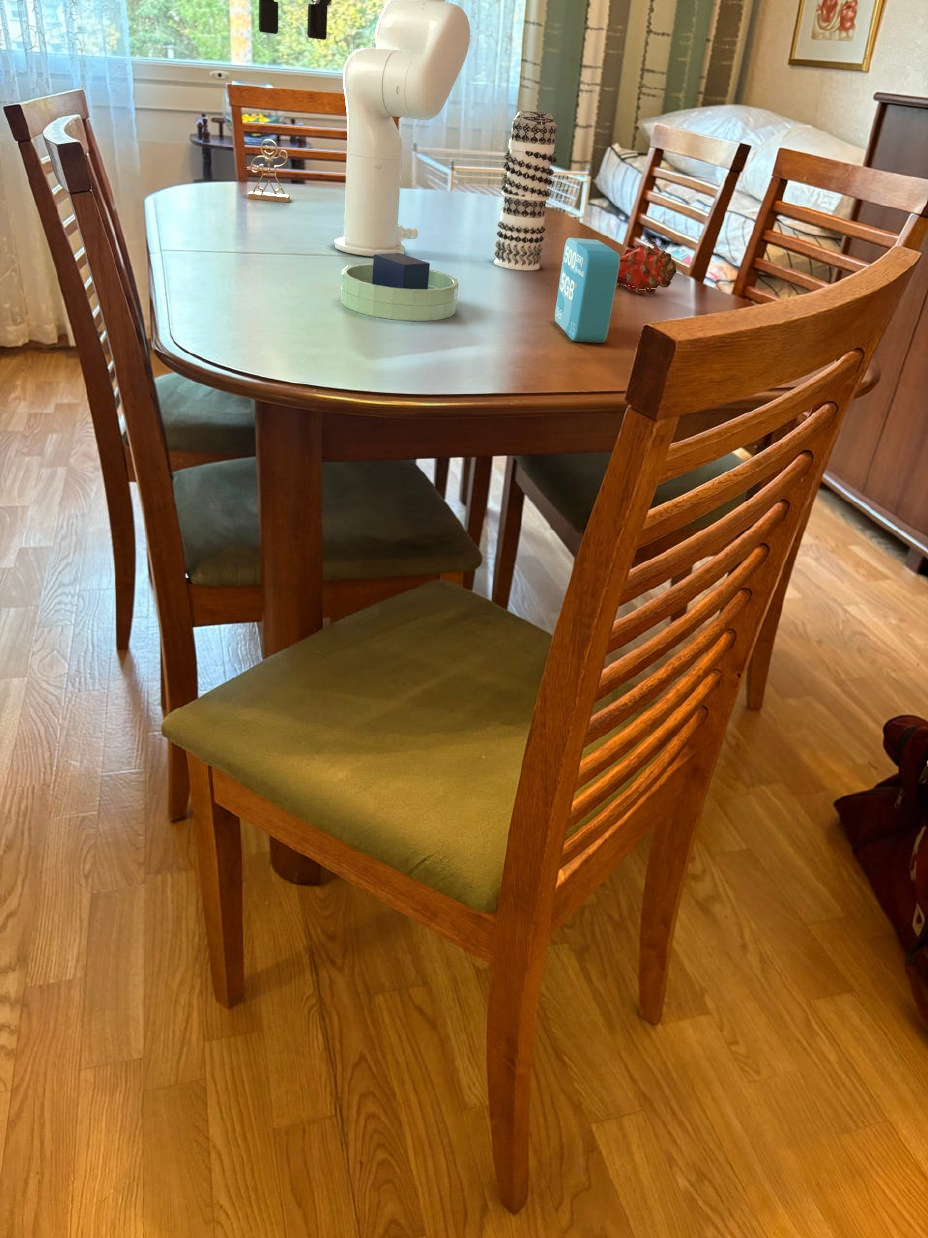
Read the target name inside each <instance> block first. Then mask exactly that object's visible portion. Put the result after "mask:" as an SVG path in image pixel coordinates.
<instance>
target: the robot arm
mask: <svg viewBox="0 0 928 1238" xmlns="http://www.w3.org/2000/svg"><path fill="white" fill-rule="evenodd" d="M310 1H311V2H312V3H308V4H307V5H308V6H307V30H306V33H307V34H306V35H307V37H308V39H314V40H322V41H326V40H327V37H328V35H327V33H328V8H329V7H331V6H332V3H333V2H332V0H310ZM258 31H259V32H260V33H265V34H272V35H277V34H278V33H279V1H275V0H258ZM374 39H375V45H376V47H364V48H360V49H357V50H355V51H354V52H352V53H351V54H350V55H349V57H348V58H347V60H346V61H345V64H344V68H343V78H342V79H343V81H342V82H343V89H344V98H345V107H346V118H347V119H346V120H347V125H346V126H347V135H346V137H347V138H346V139H347V140H346V141H347V142H346V147H347V148H346V163H345V164H346V167H345V195H344V220H343V222H344V223H343V237H339V238H337V239H335V240H334V247H335V249H336V250H338V251H341V252H344V253H346V254H351V255H357V256H364V257H373V258H374V254H388V253H401V254H404V255H405V250H406V247H405V245H403V244H402V242H404V241H405V240H416V239H417V238H418V236H419V232H418V229H417V228H415V227H406V228H404V226H403V225H401V224H399V213H400V212H399V211H400V196H401V180H402V165H403V141H402V137H401V134H400V131H399V129H398V127H397V125H396V122H395V120H394V118H393V117H396V118H397V117H398V118H404V119H410V120H419V121H430V120H432V119H434V118H435V117H437V116H438V115H439V114H440V113H441V111H442V110H443V108H444V107H445V105H446V102H447V100H448V99H449V96H450V95H451V94H450V93H451V92H452V90H453V87H454V85H455V83H456V81H457V79H458V76H459V74H460V72H461V71H462V68H463V66H464V64H465V61H466V58H467V56H468V51H469V48H470V40H471V26H470V21H469V18H468V16H467V14H466V12H465V11H464V10H463V8H462V7H461V6H459V5H457V4H455V3H453V2H447V1H446V0H387V2H386V4H385V6H384V8H383V10H382V12H381V15H380V16H379V19H378V21H377V24H376V27H375V35H374Z"/></svg>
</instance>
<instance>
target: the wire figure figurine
mask: <svg viewBox="0 0 928 1238" xmlns="http://www.w3.org/2000/svg"><path fill="white" fill-rule="evenodd" d="M268 141H269V142H272V143H273V144H274V146H273V145H270V146H269V145H267V144H265V145H264V143H265V142H268ZM263 148H264V149H265V150H263ZM259 149H260V152H261V154H262V155H257V156H255V157H254V158H253V159H252V160H251V162H250V166H249V169H250V171H251V172H252V173H254V174H256V173H259V171H260V168H261V176H260V177H259V179H258V182H257V183H256V185H255V187H254V189H253V191H252V190H251V191H249V192H248V193H247V199H249V200H260V201H271V202H280V203H289V202H290V201H291V196H290V195H289V194H285V191H284V189H283V187H282V185H281V183H280V182H279V179H278V177H277V168H280V167H283V166H284V165H285V164H286V162H287V161H288V157H289V154H288V152H287V151H286V150H285V149H281V150H280V151H279V152H278V145H277V143H276V142H275V141H274V140H273V139H270V138H267V139H264V140H263V141H262V142H261V143H260V148H259ZM267 149H270V150H271V151H272V152H267ZM274 150H275V151H274ZM282 152H283V153H285V155H286V156H285V155H283V154H281V153H282ZM277 154H278V155H277ZM276 155H277V156H276ZM259 158H264V161H265V163H266V162H267V166H268V169H267V172H268V173H267V172H264V164H263V163H261V164H259V165H256V164H254V161H255V160H257V159H259ZM279 158H281V159H283V160H284V162H283V163H282V164H279V165H274V173H271V171H272V170H271V164H272V163H273V162H274V159H275V160H276V159H279ZM253 168H255V169H257V170H254V169H253ZM264 176H266V177H274V179H275V180H276V182H277V184H278V186H279V187H278V188H277V189H275V188H274V186H273V184H272V182H271V180H270V179H268V181H267V182H266V184H265V186H264V187H262V186H260V185H259V184H260V182H261V180H262V179H263V177H264ZM268 185H269V186H270V187H271V190H272V191H273V192H272V193H271V192H265V190H266V189H267V187H268ZM256 189H259V190H260V191H256ZM280 191H281V192H282V194H281V193H278V192H280Z"/></svg>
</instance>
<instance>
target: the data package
mask: <svg viewBox="0 0 928 1238" xmlns="http://www.w3.org/2000/svg"><path fill="white" fill-rule="evenodd" d="M563 249H564V250H563V257H562V263H561V270H560V275H559V276H560V277H559V283H558V289H557V297H556V304H555V311H554V320H555V321H554V322H556V324H558V326H559V327H560V328H561V329H562V330H563V331H564V332H565V335H566V336H568V338H569V339H570V340H571V341H572V342H576V343H593V344H604V343H605V342H606V340H607V338H608V335H609V334H608V333H609V330H610V329H609V328H610V322H611V318H612V311H613V306H614V302H615V301H614V300H615V296H616V289H617V285H618V284H617V278H618V273H619V267H620V257H619V256H620V254H619V253H618V252H617V251H616V250H614V249H612V247H609V246H608V245H606V244H605V243H604V242H602V241H600V240H599V239H590V238H581V237H580V238H578V237H568V238H567V239H566V241H565V244H564V248H563Z"/></svg>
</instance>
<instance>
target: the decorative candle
mask: <svg viewBox="0 0 928 1238" xmlns="http://www.w3.org/2000/svg"><path fill="white" fill-rule="evenodd" d="M511 121H512V126H511V132H510V133H511V135H510V138H509V141H508V149H509V150H508V151H506V152H505V153H504V155H503V157H504V159H505V160H506V161H505V162H504V163H503V164H502V168H503V169H504V170H505V171H506V173H505V174H503V176H502V181H503V182H504V183H503V184H502V186H501V188H500V189H501V195H502V196H503V201H502V202H503V203H502V210H501V211H500V221H499V222H498V223H497V226H498V228H499V229H500V230H498V231H496V235H497V237H498V240H497V241H496V242H495V244H494V245H495V247H496V250H495V251H494V256H495V259H494V260H493V264H494V265H496V266H497V267H501V268H506V269H510V270H516V271H537V270H539V269H540V267H541V266H540V264H539V263H540V262H541V260H542V256H541V253H542V251H543V250H544V248H543V246H542V245H541V242H543V241H544V240H545V237H544V236H543V235H542V234H543V233H545V231H546V228H545V227H544V226H545V220H546V219H545V218H546V216H545V212H546V207H547V206H546V204H547V201H549V199H550V196H551V195H550V194H551V193H550V191H548V186H551V185H552V184H553V183H554V182H553V180H552V178H550V177H551V176H553V175H554V173H555V171H554V170H553V168H552V167H551V164H552V165H553V164H555V163H556V162H557V158H556V156H554V155H555V154H556V153H557V151H555V146H556V145H555V139H556V130H557V127H558V124H556V122H555V119H554V117H553V115H552V114H550V113H546V112H541V111H534V110H533V111H532V110H520V111H518V112H517V114H516V116H515V117H514V118H513V119H511Z"/></svg>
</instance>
